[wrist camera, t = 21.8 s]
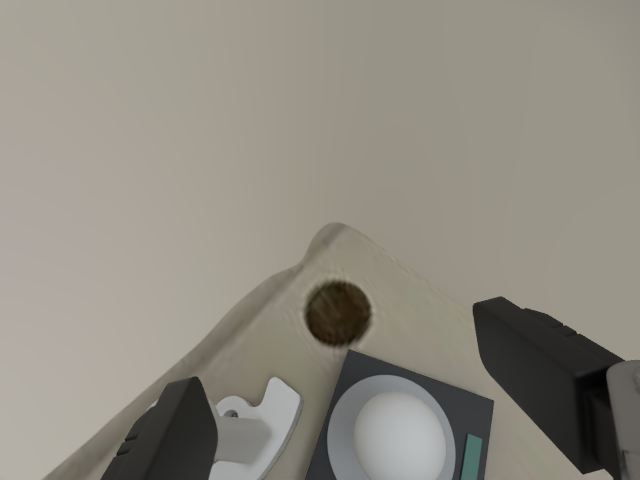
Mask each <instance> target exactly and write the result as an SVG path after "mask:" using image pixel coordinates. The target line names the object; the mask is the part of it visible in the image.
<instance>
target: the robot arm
mask: <svg viewBox="0 0 640 480" xmlns="http://www.w3.org/2000/svg"><path fill="white" fill-rule="evenodd" d="M473 317H474V323H475V329H476V336H477V342H478V348H479V354H480V357H481V360H482V362H483V365H484V367H485V368H486V370H487V372H488V373H489V374H490V376H491V377H492V378H493V379H494V380H495V381H496V382H497V383H498V384H499V385H500V386H501V387H502V388H503V389H504V391H505V392H506V393H507V394H508V395H509V396H510V397H511V398H512V399H513V400H514V401H515V402H516V403H517V404H518V406H519V407H520V408H521V409H522V410H523V411H524V412H525V413H526V414H527V415H528V416H529V417H530V418H531V420H532V421H533V422H534V423H535V424H536V425H537V426H538V427H539V428H540V429H541V430H542V431H543V432H544V433H545V435H546V436H547V437H548V438H549V439H550V440H551V441H552V442H553V443H554V444H555V445H556V446H557V447H558V449H559V450H560V451H561V452H562V453H563V454H564V455H565V456H566V457H567V458H568V459H569V460H570V461H571V462H572V464H573V465H574V466H575V467H576V468H577V469H578V470H579V471H580V472H581V473H582V474H587V473H590V472H594V471H597V470H601V469H605V470H606V471H607V472H608V473H609V474H610V475H611V476H612V477H613V480H640V360H631V361H625V360H623V359H622V358H620V357H618V356H617V355H615V354H613V353H611V352H610V351H608V350H607V349H605V348H603V347H601V346H600V345H598V344H596V343H595V342H593V341H591V340H590V339H588V338H586V337H585V336H583V335H581V334H577V333H576V331H574V330H573V329H571V328H569V327H568V326H563V323H561V322H559V321H558V320H556V319H554V318H553V317H551V316H549V315H548V314H545V313H541V312H538V311H534V310H531V309H527V308H525V309H521V308H520V307H518V306H516V305H515V304H513V303H512V302H510V301H509V300H507V299H505V298H503V297H496V298H493V299H489V300H485V301H481V302H477V303H475V304H474V305H473ZM217 445H218V430H217V425H216V421H215V418H214V416H213V413H212V410H211V407H210V405H209V402H208V399H207V397H206V394H205V391H204V388H203V386H202V383H201V381H200V379H199V378H198V377H196V376H194V377H191V378H187V379H183V380H179V381H176V382H172V383H169V384H167V386H166V387H165V389H164V391H163V392H162V394H161V396H160V398H159V399H158V401H157V403H156V405H155V406H153V407H150V408H149V409H148V410H147V411H146V412H145V413H144V414H143V415H142V416H141V417H140V418H139V419H138V420H137V421H136V422H135V424H134V425H133V427H132V428H131V430H130V432H129V433H128V435H127V437H126V438H125V442H124V443H122V445H121V447H120V448H119V450H118V451H117V453H116V454H117V456H116V457H114V458H113V460H112V461H111V463H110V465H109V466H108V468H107V470H106V471H105V473H104V474H103V476H102V478H101V479H100V480H208V479H209V476H210V472H211V468H212V465H213V461H214V457H215V453H216V450H217Z"/></svg>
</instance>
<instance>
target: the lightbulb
mask: <svg viewBox="0 0 640 480" xmlns="http://www.w3.org/2000/svg"><path fill="white" fill-rule="evenodd" d="M353 440H354V449H355V452H356V456H357V459H358V461H359V463H360V466H361V468H362V469H363V471H364V472H365V474H366V475H367V476H368V478H369V479H370V480H437V478H438V477H439V475H440V473H441V471H442V469H443V466H444V463H445V457H446V440H445V435H444V431H443V428H442V426H441V424H440V421H439V419H438V418H437V416H436V415H435V413H434V412H433V411H432V409H431V408H430V407H429V406H428V405H427V404H426V403H424V402H423V401H422V400H421V399H419V398H417V397H416V396H414V395H412V394H409V393H406V392H401V391H389V392H384V393H381V394H378V395H377V396H375V397H373V398H371V399H370V400H369V401H368V402H367V403H366V404H365V405H364V407H363V408H362V409H361V411H360V413H359V415H358V417H357V419H356V423H355V427H354V437H353Z"/></svg>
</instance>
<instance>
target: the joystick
mask: <svg viewBox="0 0 640 480" xmlns="http://www.w3.org/2000/svg"><path fill="white" fill-rule="evenodd" d="M207 399H208V402H209V405H210V407H211V410H212V413H213V416H214V418H215V421H216V425H217V430H218V445H217V450H216V453H215V457H214V460H219V461H218V462H216V463H215V464H214V465H212V468H211V472H210V476H209V479H208V480H262V479H263V478H264V477H265V476H266V474H267V473H268V472H269V471H270V469H271V468H272V467H273V465H274V464H275V462H276V461H277V460H278V458H279V457H280V455H281V453H282V452H283V450H284V448H285V447H286V445H287V443H288V441H289V439H290V437H291V435H292V433H293V431H294V429H295V426H296V424H297V421H298V419H299V416H300V413H301V410H302V406H303V398H302V397H301V396H300V395H299V394H297V393H296V392H295V391H294V390H292V389H291V388H290V387H289V386H287V385H286V384H285V383H284V382H282V381H281V380H280V379H279V378H277V377H274V378H272V379H270V381H269V383H268V386H267V389H266V393H265V395H264V398H263V401H262V403H261V404H260V405H259V406H257V407H253V406H252V405H251V404H250V403H249V402H248V401H247V400H245V399H243V398H240V397H238V396H229V397H226V398H224V399H222V400H221V401H220V402H219V403H218V404H217V405H216V406H215V405H214V404H213V402H212V401H211V400H210V399H209V398H208V397H207ZM157 401H158V400H156V401H155V402H154V403H153V404H152V405H151V406H150V407H153V406H155V405H156V403H157ZM150 407H149V408H150ZM149 408H148V409H149ZM148 409H147V410H148ZM147 410H146V411H147ZM235 412H237V414H238V418H236V417H231V416H232V415H233V414H234V413H235Z"/></svg>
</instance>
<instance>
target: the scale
mask: <svg viewBox="0 0 640 480" xmlns="http://www.w3.org/2000/svg"><path fill="white" fill-rule="evenodd" d="M389 391H401V392H406V393H409V394H412V395H414V396H416V397H417V398H419V399H421V400H422V401H423V402H424V403H426V404H427V405H428V406H429V407H430V408H431V409H432V411H433V412H434V413H435V415H436V416H437V418H438V419H439V421H440V424H441V426H442V428H443V431H444V435H445V440H446V457H445V463H444V466H443V469H442V471H441V473H440V475H439V477H438V478H437V480H484V474H485V467H486V459H487V451H488V444H489V436H490V428H491V421H492V413H493V405H494V401H493V400H491V399H488V398H485V397H482V396H479V395H477V394H474V393H471V392H468V391H465V390H462V389H460V388H457V387H454V386H451V385H448V384H446V383H443V382H440V381H437V380H434V379H431V378H429V377H426V376H423V375H420V374H417V373H415V372H412V371H409V370H406V369H403V368H401V367H398V366H395V365H392V364H389V363H386V362H384V361H381V360H378V359H375V358H372V357H370V356H367V355H364V354H361V353H358V352H355V351H353V350H350V349H349V350H348V353H347V356H346V359H345V362H344V365H343V368H342V371H341V374H340V377H339V380H338V383H337V386H336V389H335V392H334V395H333V398H332V401H331V404H330V407H329V410H328V413H327V416H326V419H325V422H324V425H323V428H322V431H321V434H320V437H319V440H318V443H317V446H316V449H315V452H314V455H313V458H312V461H311V464H310V467H309V470H308V473H307V476H306V479H305V480H370V479H369V478H368V476H367V475H366V474H365V472H364V471H363V469H362V468H361V466H360V463H359V461H358V459H357V456H356V452H355V449H354V440H353V437H354V427H355V423H356V419H357V417H358V415H359V413H360V411H361V409H362V408H363V407H364V405H365V404H366V403H367V402H368V401H369V400H370V399H371V398H373V397H375V396H377V395H378V394H381V393H384V392H389Z"/></svg>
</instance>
